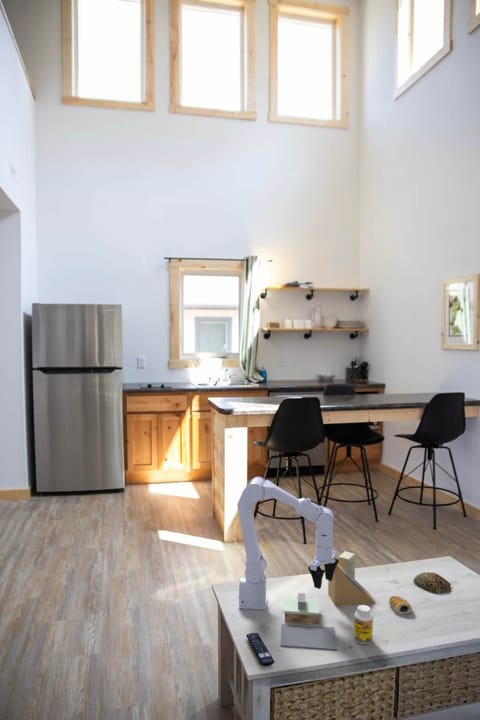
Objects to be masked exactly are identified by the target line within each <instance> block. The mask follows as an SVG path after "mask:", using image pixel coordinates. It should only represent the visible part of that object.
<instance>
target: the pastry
mask: <svg viewBox="0 0 480 720" xmlns="http://www.w3.org/2000/svg"><path fill="white" fill-rule="evenodd" d="M388 600H389V606H390V608H391V610H392V611H393V612H394V614H395V615H405V614H410V613H412V611H413V607H412V605H411V603H410V602H409V601H408V600H407V599H404V598H403V597H400V596H396V595H393V596H391V597H390V598H389V599H388Z"/></svg>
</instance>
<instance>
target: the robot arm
mask: <svg viewBox="0 0 480 720" xmlns="http://www.w3.org/2000/svg"><path fill="white" fill-rule="evenodd" d="M263 498H264V501H266V500H270V499H275V500H276V501H279V502H281V503H284V504H286V505H287V506H290V507H292V508H294V509H295V510H294V511H295V513H296V514H297V515H299V516H302V517H303V518H304V519H306V520H308V521H310V522H312V523H315V525H316V531H315V556H314V558H313V559H312V561H311V563H310V564H309V566H307V569H308V571H309V574H310V575H311V578H312V583H313V587H314V589H318V590H320V589H321V588H322V584H323V577H324V576H325V580H327V581H328V580H329V581H332V578H333V575H334V571H335V568H336V566H337V564H338V563H339V560H338V557H337V556H338V555H337V554H338V553H337V551H335V550H333V549H334V548H333V547H334V546H333V545H334V539H333V538H334V532H333V530H334V512H333V511H332V510H331V509H330V507H329V508H328V507H327V506H323V505H319V504H317V503H314V502H313V501H311V498H309V497H307V498H305V497H302V498H297V497H296V496H294V495H293V494H291V493H289V492H288V491H286V490H284V488H283V489H282V488H281V487H279V486H277V485H276V484H274V483H273V482H272V481H270V480H267V479H265V478H263V477H261V476H255V477H253V478H252V479H251V480H250V481H249V482H248V483H247V484H246V486H245V488H244V489H243V491H242V493H241V495H240V497H239V500H238V501H237V513H238V517H239V521H240V530H241V535H242V539H243V545H244V551H245V570H244V577H240V579H239V585H238V587H239V588H238V608H239V609H245V610H246V609H247V610H261V611H262V610H263V611H265V610H267V606H268V597H266V595H267V577H266V574H265V572H266V571H265V570H266V569H267V561H266V559H265V557H264V555H263V552H262V550H261V549H260V548H261V547H260V544H259V538H258V533H257V528H256V522H255V516H254V510H253V506H254V505H255V504H256V503H259V501H261V500H262V499H263ZM322 566H323V567H324V569H322V568H321V567H322Z"/></svg>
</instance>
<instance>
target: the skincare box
mask: <svg viewBox="0 0 480 720" xmlns="http://www.w3.org/2000/svg"><path fill="white" fill-rule="evenodd" d="M337 559H338V560H339V564H340V565H341V566H342V567H343V568H344V569H345V570H346V571H347V572H348V573H349V574H350V575H351V576H352V577H353V578H354V579H355V580H356V578H355V577H356V553H353V552H349V551H346V550H345V551H343V552H342V553H341V554H340V555H339V556H338V557H337Z"/></svg>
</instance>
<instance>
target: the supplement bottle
mask: <svg viewBox="0 0 480 720" xmlns="http://www.w3.org/2000/svg"><path fill="white" fill-rule="evenodd" d="M353 617H354V619H353V620H354V621H353V622H354V623H353V624H354V625H353V627H354V628H353V639H354V640H355V642H357V643H359V644H362V645H368V644H371V642H373V626H374V625H373V623H374V616H373V613H372V612H371V608H370V606H368V605H367V604H358V606H357V608H356V611H355V612H354V616H353Z"/></svg>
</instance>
